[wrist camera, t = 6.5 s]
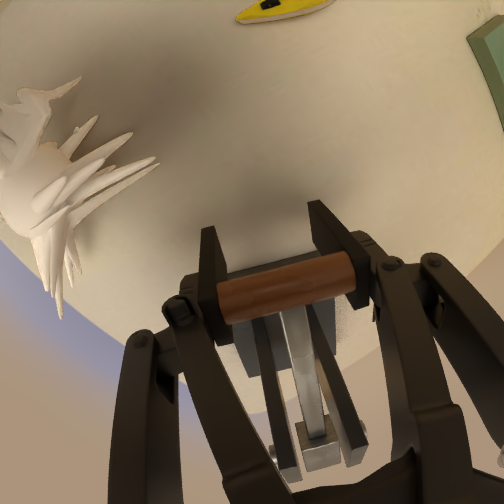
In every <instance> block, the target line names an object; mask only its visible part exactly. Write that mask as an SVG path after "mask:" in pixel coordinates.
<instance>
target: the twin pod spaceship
mask: <svg viewBox="0 0 504 504" xmlns="http://www.w3.org/2000/svg"><path fill="white" fill-rule="evenodd" d="M335 1H336V0H260V1H258V2H257V3H256V4H254V5H253V6H251V7H250V8H249V9H246V10H244V11H243V12H241V13H240V14H239V15H238V16H237V17H236V20H237V21H238V22H240V23H242V24H249V23H259V22H267V21H273V20H280V19H286V18H291V17H296V16H301V15H305V14H308V13H311V12H315V11H317V10H320V9H322V8H325V7H327V6H329V5H330V4H332V3H333V2H335Z"/></svg>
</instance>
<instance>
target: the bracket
mask: <svg viewBox="0 0 504 504" xmlns="http://www.w3.org/2000/svg"><path fill="white" fill-rule="evenodd" d="M317 257H321V254H320V253H319V251H316V252H312V253H308V254H304V255H301V256H297V257H293V258H289V259H285V260H281V261H278V262H274V263H270V264H266V265H262V266H258V267H254V268H250V269H246V270H242V271H238V272H234V273H230V274H227V277H228V280H232V279H236V278H240V277H244V276H248V275H252V274H256V273H259V272H263V271H267V270H271V269H275V268H279V267H283V266H287V265H290V264H294V263H298V262H302V261H306V260H309V259H313V258H317ZM305 308H306V313H307V318H308V323H309V329H310V334H311V340H312V345H313V351H314V356H315V362H316V368H317V374H318V380H319V384H320V386H321V389H322V392H323V395H324V398H325V401H326V404H327V407H328V410H329V413H330V417H331V420H332V423H333V425H334V428H335V431H336V433H337V436H338V438H339V444H340V447H341V450H342V453H343V456H344V460H345V463H346V466H347V467H351V466H354V465H357V464H360V463H361V461H362V459H363V457H364V455H365V452H366V450H367V448H368V445H369V444H368V441H367V431H366V427H365V425H364V423H363V421H362V420H359V418H358V415H357V412H356V410H355V407H354V404H353V402H352V399H351V397H350V394H349V392H348V389H347V387H346V384H345V382H344V379H343V377H342V375H341V372H340V369H339V367H338V365H337V362H336V360H335V357H334V355H336V325H335V299H334V297H333V298H330V299H326V300H323V301H319V302H316V303H312V304H309V305H305ZM232 328H233V337H234V344H235V346H236V349H237V351H238V354H239V356H240V358H241V361H242V363H243V365H244V368H245V370H246V372H247V375H248V377H249V378H251V377H255V376H260V375H261V380H262V385H263V390H264V396H265V401H266V406H267V412H268V417H269V422H270V427H271V433H272V438H273V442H274V445H270V446H269V454H270V457H271V458H272V460H273V462H274V464H275V465H276V464H278V468H279V471H280V473H281V474H282V475H283V477H284V478H285V480H286V481H287V483H293V482H298V481H302V480H303V479H302V475H301V471H300V467H299V462H298V458H297V454H296V449H295V445H294V441H293V437H292V432H291V428H290V424H289V420H288V416H287V412H286V407H285V402H284V398H283V394H282V390H281V385H280V381H279V377H278V372H277V371H280V370H284V369H288V368H292V367H291V363H290V359H289V355H288V350H287V346H286V342H285V338H284V333H283V329H282V325H281V321H280V317H279V313H275V314H271V315H267V316H263V317H259V318H255V319H251V320H247V321H243V322H239V323H234V324H232Z"/></svg>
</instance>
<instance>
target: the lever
mask: <svg viewBox="0 0 504 504" xmlns="http://www.w3.org/2000/svg"><path fill="white" fill-rule="evenodd" d="M355 288H356V275H355V270H354V267H353V264H352V261H351V259H350V257H349V255H348V254H347V253H346V252H345V251H339V252H335V253H332V254H328V255H324V256H321V257H317V258H313V259H309V260H306V261H302V262H298V263H294V264H290V265H287V266H283V267H279V268H275V269H271V270H267V271H263V272H259V273H256V274H252V275H248V276H244V277H240V278H236V279H232V280H228V281H224V282H220V283H217V285H216V292H217V298H218V303H219V307H220V311H221V314H222V317H223V319H224V321H225V323H226V324H227V325H230V324H234V323H239V322H243V321H247V320H251V319H255V318H259V317H263V316H267V315H271V314H275V313H279V317H280V321H281V325H282V329H283V333H284V338H285V342H286V346H287V350H288V355H289V359H290V363H291V367H292V372H293V376H294V380H295V385H296V389H297V393H298V397H299V402H300V406H301V411H302V415H303V420H304V421H302V422H298V423H295V427H296V431H297V435H298V439H299V443H300V447H301V451H302V455H303V459H304V462H305V466H306V470H307V472H311V471H315V470H318V469H322V468H326V467H329V466H332V465H335V464H339V463H341V456H340V444H339V438H338V436H337V433H336V431H335V428H334V425H333V423H332V420H331V418H330V415H329V414H327V415H324V411H323V406H322V399H321V393H320V386H319V380H318V374H317V368H316V362H315V356H314V351H313V345H312V340H311V334H310V329H309V323H308V318H307V313H306V308H305V305H309V304H312V303H316V302H319V301H323V300H326V299H330V298H333V297H336V296H340V295H343V294H346V293H350V292H353V291H354V290H355Z"/></svg>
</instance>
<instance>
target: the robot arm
mask: <svg viewBox="0 0 504 504" xmlns="http://www.w3.org/2000/svg"><path fill="white" fill-rule="evenodd" d="M307 204H308V211H309V218H310V225H311V232H312V240H313V243H314V245H315V246H316V248H317V249H318V251H319V253H320V254H321V256H324V255H328V254H332V253H335V252H339V251H345V252H346V253H347V254H348V255H349V257H350V259H351V261H352V264H353V267H354V270H355V275H356V288H355V290H354V291H353V292H350V293H346V294H345V295H346V297H347V299H348V301H349V302H350V304H351V306H352V307H353V309H354V310H357V309H360V308H363V307H366V306H369V298H370V297H371V299H372V300H373V302H374V308H373V321H372V322H375V320H376V325H377V330H378V335H379V341H380V346H381V352H382V358H383V364H384V370H385V377H386V383H387V391H388V399H389V407H390V416H391V426H392V438H393V444H392V451H391V462H390V463H388V464H386V465H384V466H383V467H381V468H380V469H378V470H377V471H376V472H374V473H372V474H371V475H370V476H368V477H366V478H365V479H363V480H361V481H360V482H358V483H355V484H347V485H335V486H321V487H316V488H312V489H308V490H304V491H300V492H295V493H292V492H291V490H290V489H289V487H288V485H287V484H286V482H285V480H284V479H283V477H282V475H281V474H280V472H279V471H278V469H277V467H276V465H275V464H274V462H273V460H272V458H271V457H270V455H269V453H268V451H267V450H266V448H265V446H264V444H263V442H262V440H261V439H260V437H259V435H258V433H257V432H256V429H255V427H254V426H253V424H252V422H251V420H250V418H249V417H248V414H247V412H246V410H245V408H244V406H243V404H242V403H241V401H240V399H239V397H238V395H237V393H236V391H235V389H234V387H233V384H232V382H231V380H230V378H229V376H228V374H227V372H226V370H225V368H224V366H223V364H222V362H221V359H220V357H219V355H218V353H217V351H216V349H215V342H216V344H217V346H223V345H228V344H232V343H234V337H233V328H232V324H230V325H227V324H226V323H225V321H224V319H223V317H222V314H221V311H220V307H219V303H218V298H217V292H216V285H217V283H220V282H224V281H228V277H227V266H226V262H225V259H224V255H223V252H222V249H221V246H220V243H219V240H218V236H217V233H216V230H215V227H214V226H210V227H206V228H203V229H201V242H200V258H199V272H197V273H193V274H189V275H185V276H184V278H183V279H182V281H181V282H180V291H179V295H175V296H173V297H171V298H169V299H168V300H167V301H166V302H165V303H164V304H163V306H162V313H163V315H164V317H165V318H166V320H167V322H168V324H169V327H168V328H166V329H164V330H163V331H160V332H158V333H156V334H153V333H152V332H151V331H150V330H147V329H143V330H139V331H136V332H135V333H133V334H132V335H131V336H130V337H129V338H128V340H127V342H126V346H125V351H124V356H123V362H122V368H121V373H120V380H119V385H118V392H117V398H116V405H115V413H114V420H113V429H112V438H111V449H110V461H109V477H108V479H109V480H108V504H184V502H183V491H182V478H181V462H180V441H179V409H178V408H179V404H178V374H180V373H182V372H183V373H184V376H185V379H186V382H187V385H188V388H189V391H190V394H191V397H192V400H193V403H194V406H195V408H196V411H197V414H198V417H199V419H200V422H201V425H202V427H203V430H204V433H205V435H206V438H207V440H208V443H209V445H210V448H211V450H212V453H213V455H214V457H215V460H216V462H217V464H218V467H219V469H220V471H221V474H222V477H223V480H222V484H223V488H224V490H225V493H226V495H227V497H228V500H229V502H230V504H504V479H502V478H500V477H497V476H494V475H491V474H488V473H485V472H483V471H480V470H477V469H475V468H472V461H471V454H470V447H469V442H468V436H467V430H466V425H465V421H464V416H463V412H462V410H461V408H460V406H459V405H457V404H453V402H452V400H451V397H450V393H449V389H448V385H447V381H446V378H445V374H444V370H443V367H442V364H441V360H440V357H439V354H438V350H437V347H436V344H435V341H434V338H435V339H436V341H437V343H438V344H439V345H440V347H441V349H442V350H443V352H444V354H445V355H446V357H447V358H448V360H449V362H450V363H451V365H452V367H453V368H454V370H455V372H456V373H457V375H458V377H459V378H460V380H461V382H462V384H463V385H464V387H465V389H466V391H467V393H468V394H469V396H470V398H471V400H472V402H473V404H474V405H475V407H476V409H477V411H478V413H479V415H480V417H481V419H482V421H483V423H484V425H485V427H486V429H487V430H488V432H489V434H490V436H491V437H492V439H493V440H494V442H495V443H496V444H497V446H498V447H499V448H500V449H501V453H500V455H499V457H498V465H499V466H500V467H503V468H504V321H503V320H502V319H501V318H500V316H499V315H498V314H497V313H496V311H495V310H494V309H493V308H492V307H491V306H490V304H489V303H488V302H487V301H486V300H485V299H484V298H483V297H482V295H481V294H480V293H479V292H478V291H477V290H476V289H475V288H474V287H473V285H472V284H471V283H470V282H469V281H468V280H467V279H466V278H465V277H464V276H463V275H462V274H461V273H460V272H459V271H458V270H457V269H456V268H455V267H454V266H453V265H452V264H451V263H450V262H449V261H448V260H447V259H446V258H445V257H444V256H442V255H441V254H438V253H432V252H431V253H426V254H424V255H423V256H422V257H421V260H420V263H415V264H405V263H404V262H403V261H402V259H400V258H398V257H395V256H388V255H387V254H386V252H385V251H384V250H383V249H382V248H381V247H380V246H379V245H378V244H376V242H375V241H374V240H373V239H372V238H371V237H370V236H369V235H368V234H367V233H365V232H363V231H361V230H358V231H354V232H349V231H348V230H347V229H346V227H345V226H344V225H343V224H342V223H341V222H340V221H339V220H338V219H337V218H336V216H335V215H334V214H333V213H332V212H331V211H330V210H329V209H328V208H327V207H326V206H325V205H324V204H323V203H322V202H321V201H320V200H319V199H318V200H314V201H310V202H307ZM433 336H434V338H433ZM214 340H215V342H214Z"/></svg>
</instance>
